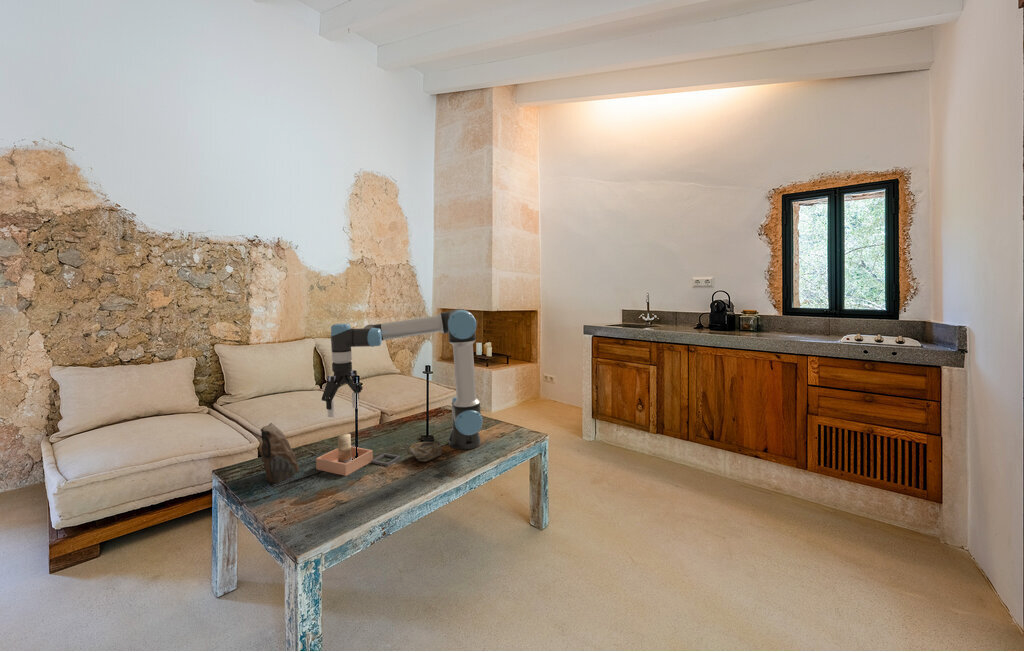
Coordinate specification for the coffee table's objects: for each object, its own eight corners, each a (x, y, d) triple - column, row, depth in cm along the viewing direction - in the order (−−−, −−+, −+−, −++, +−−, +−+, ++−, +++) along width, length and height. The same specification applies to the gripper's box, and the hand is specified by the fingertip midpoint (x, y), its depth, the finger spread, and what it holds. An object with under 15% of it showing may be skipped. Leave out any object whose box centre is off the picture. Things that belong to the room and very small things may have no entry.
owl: (273, 485, 157) (271, 434, 155) (249, 480, 161) (246, 429, 159) (301, 471, 169) (299, 423, 167) (277, 466, 173) (275, 419, 171)
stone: (413, 459, 173) (411, 436, 178) (408, 468, 180) (407, 446, 186) (445, 457, 178) (442, 435, 184) (439, 466, 186) (436, 444, 191)
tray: (372, 460, 179) (372, 450, 179) (346, 475, 165) (345, 464, 165) (344, 454, 185) (344, 444, 185) (316, 469, 171) (315, 458, 170)
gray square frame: (400, 458, 182) (400, 456, 182) (387, 466, 174) (387, 463, 174) (384, 455, 185) (384, 453, 185) (371, 462, 177) (371, 460, 177)
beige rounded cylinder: (355, 461, 177) (354, 434, 175) (345, 467, 171) (344, 438, 170) (344, 459, 179) (344, 432, 178) (335, 465, 174) (333, 437, 172)
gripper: (356, 356, 184) (358, 403, 186) (310, 366, 161) (312, 419, 163) (370, 357, 181) (371, 405, 183) (324, 367, 158) (327, 422, 160)
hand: (343, 412), depth 173 cm, fingers open, 13 cm apart
